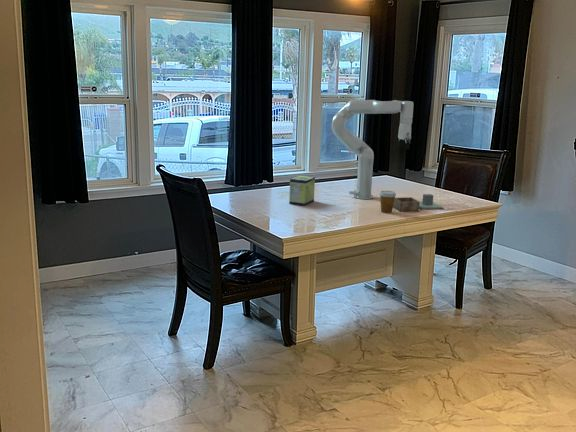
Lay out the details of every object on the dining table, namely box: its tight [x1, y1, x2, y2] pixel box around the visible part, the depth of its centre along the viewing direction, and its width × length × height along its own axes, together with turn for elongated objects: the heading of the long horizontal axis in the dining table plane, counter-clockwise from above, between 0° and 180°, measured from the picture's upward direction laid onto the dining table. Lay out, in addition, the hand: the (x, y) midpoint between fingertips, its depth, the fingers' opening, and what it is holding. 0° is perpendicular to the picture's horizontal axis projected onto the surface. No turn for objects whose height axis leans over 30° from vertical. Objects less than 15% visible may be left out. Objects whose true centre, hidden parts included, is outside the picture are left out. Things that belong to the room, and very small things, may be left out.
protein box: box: [288, 174, 316, 207], centre depth 362 cm, size 10×16×16 cm
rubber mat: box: [419, 207, 445, 211], centre depth 364 cm, size 15×15×1 cm
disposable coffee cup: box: [379, 190, 397, 214], centre depth 346 cm, size 10×10×12 cm
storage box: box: [393, 196, 421, 213], centre depth 354 cm, size 12×12×6 cm
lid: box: [419, 193, 443, 209], centre depth 363 cm, size 13×13×7 cm
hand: (403, 148), depth 372 cm, fingers open, 9 cm apart
